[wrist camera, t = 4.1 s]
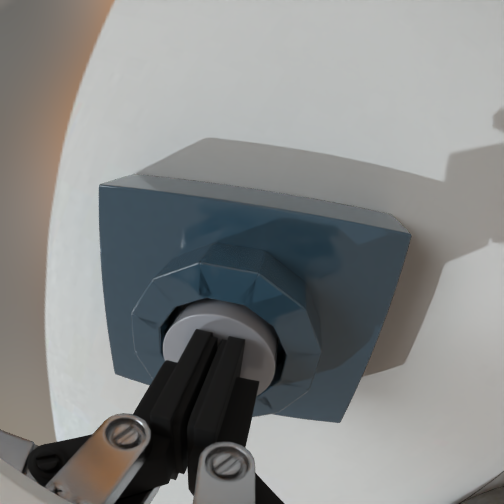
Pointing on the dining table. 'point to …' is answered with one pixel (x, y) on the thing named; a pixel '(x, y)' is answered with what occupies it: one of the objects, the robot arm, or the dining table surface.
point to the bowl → (488, 497)
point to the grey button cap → (227, 335)
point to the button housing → (250, 279)
